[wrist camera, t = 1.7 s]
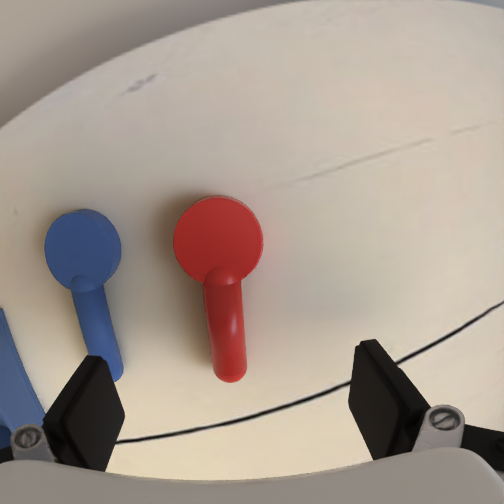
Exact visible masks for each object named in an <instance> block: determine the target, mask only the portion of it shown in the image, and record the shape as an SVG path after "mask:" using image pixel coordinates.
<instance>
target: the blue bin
mask: <svg viewBox="0 0 504 504" xmlns="http://www.w3.org/2000/svg"><path fill="white" fill-rule="evenodd" d="M45 415H46V414H45V412H44V410H43V408H42V406H41V404H40V402H39V400H38V398H37V396H36V394H35V392H34V390H33V388H32V386H31V383H30V381H29V379H28V377H27V374H26V372H25V370H24V367H23V365H22V363H21V360H20V358H19V355H18V353H17V350H16V347H15V345H14V342H13V339H12V336H11V333H10V331H9V328H8V325H7V322H6V318H5V315H4V312H3V309H0V449H2V448H5V447H8V446H11V442H10V438H11V435H12V433H13V432H14V431H15V430H16V429H17V428H18V427H20V426H22V425H25V424H36V425H39V426H40V427H41V426H42V425H43V421H42V420H43V418H44V417H45Z"/></svg>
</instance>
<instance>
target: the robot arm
mask: <svg viewBox="0 0 504 504" xmlns="http://www.w3.org/2000/svg"><path fill="white" fill-rule="evenodd" d="M348 404H349V408H350V410H351V412H352V415H353V417H354V419H355V421H356V423H357V425H358V428H359V430H360V432H361V434H362V436H363V439H364V441H365V443H366V445H367V447H368V449H369V452H370V454H371V456H372V458H373V461H370V462H365V463H361V464H356V465H352V466H347V467H341V468H336V469H331V470H325V471H320V472H313V473H307V474H300V475H292V476H283V477H273V478H262V479H247V480H215V481H204V480H173V479H158V478H147V477H137V476H129V475H121V474H114V473H108V472H105V471H106V468H107V465H108V462H109V459H110V457H111V454H112V451H113V449H114V446H115V443H116V440H117V438H118V435H119V432H120V430H121V427H122V425H123V422H124V419H125V413H124V409H123V407H122V404H121V401H120V398H119V396H118V393H117V390H116V387H115V384H114V381H113V378H112V375H111V372H110V369H109V366H108V363H107V361H106V360H103V358H102V356H96V355H87V356H86V357H85V358H84V360H83V361H82V363H81V364H80V365H79V367H78V368H77V370H76V371H75V372H74V374H73V375H72V377H71V378H70V380H69V381H68V382H67V384H66V385H65V387H64V388H63V390H62V391H61V393H60V394H59V396H58V397H57V398H56V400H55V401H54V403H53V404H52V406H51V407H50V409H49V410H48V412H47V413H46V415H45V417H44V418H43V420H42V421H43V425H42V426H41V427H40V426H39V425H36V424H25V425H22V426H20V427H18V428H17V429H16V430H15V431H14V432H13V433H12V435H11V438H10V442H11V446H8V447H5V448H2V449H0V504H504V432H501V431H495V430H490V429H485V428H480V427H476V426H471V425H467V424H465V417H464V415H463V413H462V412H461V411H460V410H459V409H457V408H455V407H453V406H450V405H436V406H434V407H430V405H429V404H428V403H427V401H426V400H425V399H424V397H423V396H422V395H421V394H420V392H419V391H418V390H417V388H416V387H415V386H414V384H413V383H412V382H411V381H410V379H409V378H408V377H407V376H406V374H405V373H404V372H403V370H401V369H400V368H398V366H397V365H396V364H395V363H394V361H393V360H392V359H391V357H390V356H389V355H388V354H387V352H386V351H385V350H384V349H383V347H382V346H381V345H380V344H379V342H378V341H377V340H376V339H371V340H365V341H361V342H360V344H359V345H358V346H356V347H355V354H354V362H353V370H352V378H351V385H350V392H349V398H348Z"/></svg>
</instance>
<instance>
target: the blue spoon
mask: <svg viewBox="0 0 504 504" xmlns="http://www.w3.org/2000/svg"><path fill="white" fill-rule="evenodd" d="M44 249H45V258H46V262H47V264H48V267H49V269H50V271H51V273H52V274H53V276H54V277H55V278H56V280H57V281H58V282H59V283H61V284H62V285H63V286H64V287H66V288H68V289H70V290H71V293H72V297H73V301H74V305H75V309H76V313H77V317H78V320H79V324H80V328H81V331H82V335H83V338H84V341H85V345H86V348H87V351H88V354H89V355H96V356H102V358H103V360H106V361H107V363H108V366H109V369H110V372H111V375H112V378H113V381H114V382H116V381H117V380H119V379H120V378H121V376H122V374H123V363H122V359H121V356H120V352H119V349H118V345H117V341H116V338H115V334H114V330H113V326H112V322H111V318H110V313H109V309H108V305H107V300H106V295H105V291H104V286H103V284H104V283H105V282H106V281H107V280H108V279H109V278H110V277H111V276H112V275H113V274H114V273H115V271H116V269H117V267H118V265H119V262H120V258H121V244H120V239H119V236H118V233H117V231H116V229H115V228H114V226H113V225H112V223H111V222H110V221H109V220H108V219H107V218H106V217H105V216H103V215H102V214H100V213H98V212H96V211H93V210H88V209H82V210H77V211H74V212H71V213H68V214H65V215H62V216H61V217H59V218H58V219H56V220H55V221H54V222H53V224H52V225H51V226H50V228H49V230H48V232H47V235H46V238H45V246H44Z"/></svg>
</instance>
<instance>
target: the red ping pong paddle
mask: <svg viewBox="0 0 504 504" xmlns="http://www.w3.org/2000/svg"><path fill="white" fill-rule="evenodd" d="M173 247H174V252H175V256H176V258H177V260H178V263H179V264H180V266H181V267H182V268H183V270H184V271H185V272H186V273H187V274H188V275H189V276H191V277H192V278H193V279H195V280H197V281H199V282H201V283H203V292H204V301H205V310H206V318H207V326H208V334H209V341H210V349H211V356H212V363H213V369H214V373H215V374H216V376H217V377H218V378H219V379H220V380H222V381H224V382H228V383H233V382H237V381H239V380H240V379H241V378H243V376H244V375H245V373H246V370H247V360H246V347H245V333H244V320H243V306H242V292H241V280H242V279H243V278H245V277H246V276H248V275H249V274H250V273H251V272H252V271H253V269H254V268H255V267H256V265H257V263H258V262H259V259H260V257H261V254H262V249H263V234H262V230H261V227H260V225H259V223H258V221H257V219H256V217H255V215H254V214H253V212H252V211H251V210H250V209H249V208H248V207H247V206H246V205H245V204H243V203H242V202H240V201H239V200H237V199H234V198H232V197H228V196H210V197H206V198H204V199H201V200H199V201H197V202H196V203H194V204H193V205H192V206H191V207H189V208H188V209H187V210H186V211H185V212H184V213H183V215H182V216H181V217H180V219H179V221H178V223H177V225H176V227H175V231H174V236H173Z"/></svg>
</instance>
